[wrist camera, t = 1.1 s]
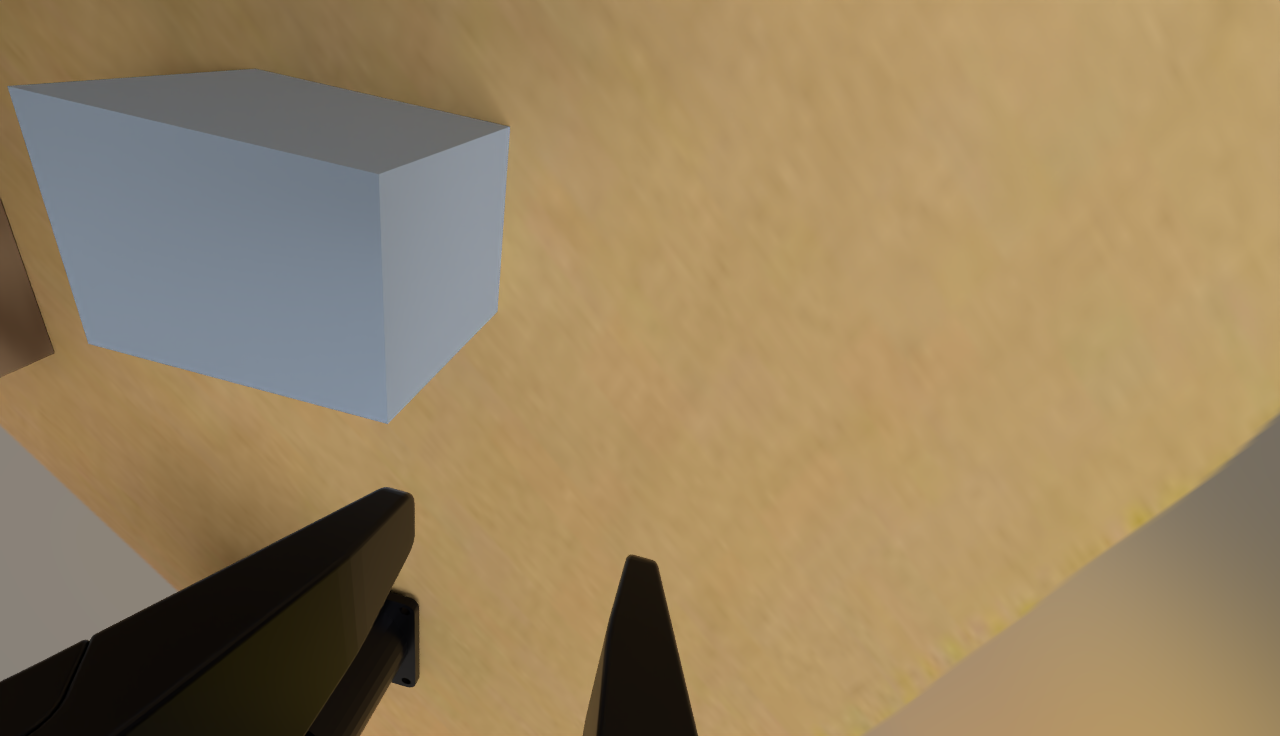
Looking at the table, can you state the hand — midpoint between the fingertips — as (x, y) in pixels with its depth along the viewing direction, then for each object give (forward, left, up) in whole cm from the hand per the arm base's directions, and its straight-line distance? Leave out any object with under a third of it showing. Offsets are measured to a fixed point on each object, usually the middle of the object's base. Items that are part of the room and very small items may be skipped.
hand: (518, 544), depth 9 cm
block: (0, +9, -12) cm, 15 cm away
